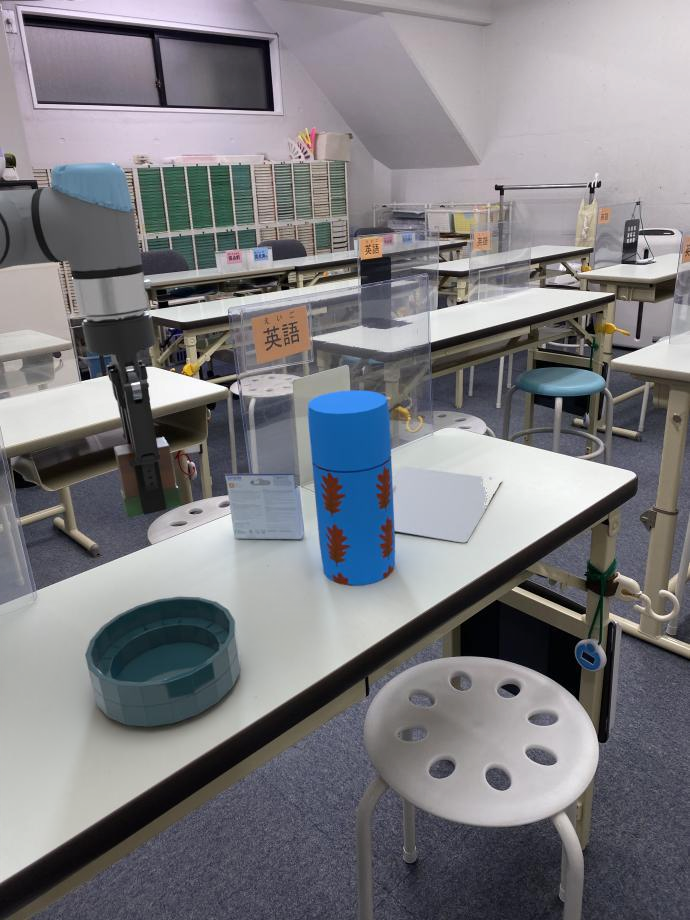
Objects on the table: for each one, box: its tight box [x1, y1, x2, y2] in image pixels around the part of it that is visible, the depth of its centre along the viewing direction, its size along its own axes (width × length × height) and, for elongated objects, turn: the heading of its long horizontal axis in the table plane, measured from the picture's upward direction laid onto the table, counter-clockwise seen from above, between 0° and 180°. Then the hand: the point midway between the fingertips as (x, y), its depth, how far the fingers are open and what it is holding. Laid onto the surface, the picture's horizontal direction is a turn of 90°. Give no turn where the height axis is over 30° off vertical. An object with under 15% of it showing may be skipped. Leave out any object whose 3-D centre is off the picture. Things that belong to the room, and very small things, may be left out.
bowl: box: [85, 596, 241, 728], centre depth 78 cm, size 16×16×6 cm
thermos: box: [307, 389, 396, 586], centre depth 95 cm, size 11×11×25 cm
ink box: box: [224, 472, 306, 540], centre depth 108 cm, size 12×2×12 cm, turn 80°
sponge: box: [113, 436, 182, 519], centre depth 83 cm, size 4×6×8 cm, turn 114°
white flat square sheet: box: [392, 466, 490, 544], centre depth 119 cm, size 25×24×1 cm
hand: (151, 504), depth 85 cm, fingers closed on sponge, 4 cm apart
